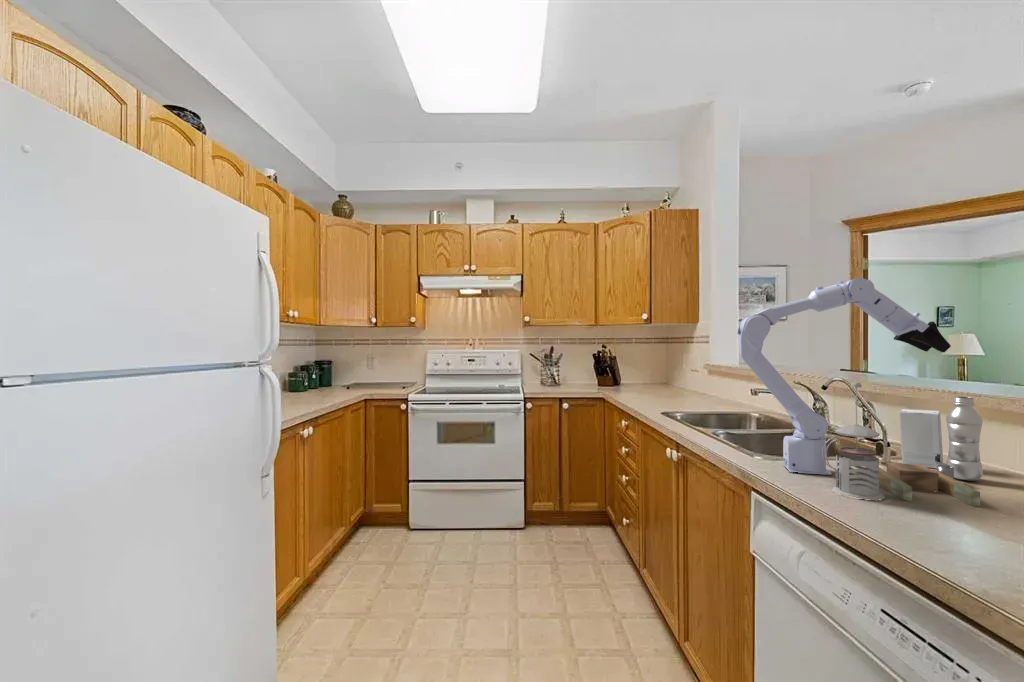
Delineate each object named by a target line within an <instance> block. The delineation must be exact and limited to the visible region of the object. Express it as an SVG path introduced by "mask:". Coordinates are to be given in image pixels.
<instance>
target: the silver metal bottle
mask: <svg viewBox="0 0 1024 682" xmlns="http://www.w3.org/2000/svg"><path fill="white" fill-rule="evenodd" d="M952 405H954V406H953V408H951V410H949V411H948V413H947V415H946V418H945V422H946V426H947V432H948V439H949V441H948V444H949V447H948V455H947V458H946V463H945V464H948V465H950V466H951V467H954V479H957V480H961V481H966V480H967V481H969V482H970V481H971V482H973V481H974V482H975V481H980V480H981V479H982V477H983V473H984V470H983V463H982V461H981V454H980V442H981V433H982V427H983V418H982V416H981V415H980V413H978V411H977V410H976V409H975V408H974V406H975V398H974V397H971V396H953V397H952Z"/></svg>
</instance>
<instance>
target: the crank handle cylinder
mask: <svg viewBox="0 0 1024 682" xmlns="http://www.w3.org/2000/svg"><path fill="white" fill-rule="evenodd" d="M935 463H936V464H938V465H937V469H936V471H938V472H940V473H942V474H944V475H947V476H949V477H951V478H953V479H955V478H954V467H951V466H950V465H948V464H946V463H945V462H944V461H943V462H941V461H940V454H935Z"/></svg>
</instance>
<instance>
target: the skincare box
mask: <svg viewBox="0 0 1024 682" xmlns="http://www.w3.org/2000/svg"><path fill="white" fill-rule="evenodd" d="M899 423H900V424H899V425H900V426H899V427H900V443H901V459H902V462H901V464H917V465H923V466H925V467H927V468H929V469H935V470H937V465H938V464H936V463H935V454H940V461H941V462H943V463H944V453H943V452H944V451H943V439H942V438H943V437H942V420H941V411H940V410H930V409H929V410H926V409H907V408H902V409H901V410H900V411H899Z"/></svg>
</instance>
